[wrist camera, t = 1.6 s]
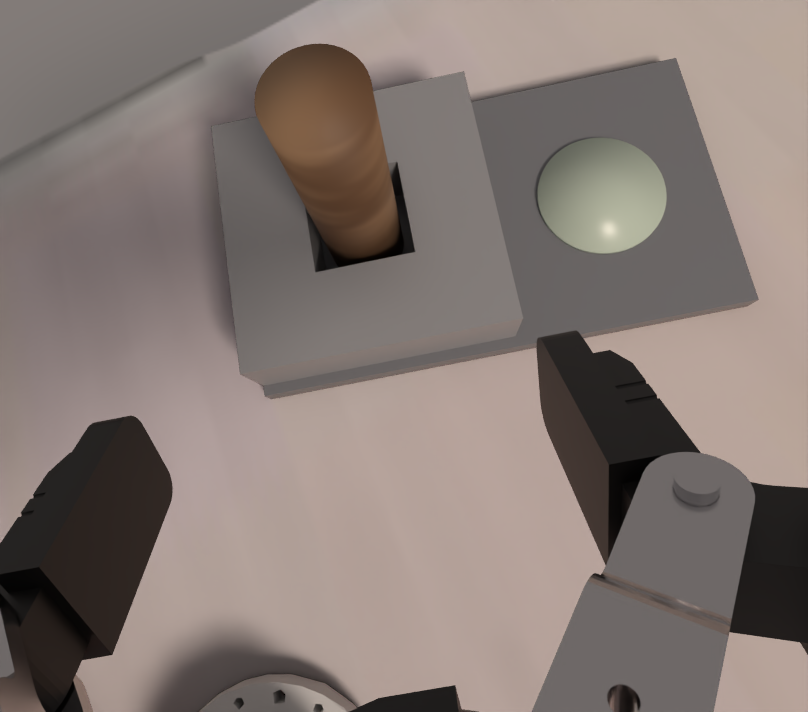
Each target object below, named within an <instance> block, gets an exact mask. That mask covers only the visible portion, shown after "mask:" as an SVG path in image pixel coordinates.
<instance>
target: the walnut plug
mask: <svg viewBox="0 0 808 712" xmlns="http://www.w3.org/2000/svg"><path fill="white" fill-rule="evenodd" d="M255 111H256V115H257V118H258V120H259V122H260V124H261V126H262V128H263V130H264V131H265V133H266V135H267V137H268V139H269V141H270V143H271V144H272V146H273V148H274V150H275V152H276V154H277V155H278V157H279V159H280V161H281V163H282V165H283V167H284V168H285V170H286V172H287V174H288V176H289V178H290V179H291V181H292V183H293V185H294V187H295V189H296V191H297V192H298V194H299V196H300V198H301V200H302V202H303V204H304V205H305V207H306V209H307V211H308V213H309V215H310V216H311V218H312V220H313V222H314V224H315V226H316V228H317V229H318V231H319V233H320V235H321V237H322V239H323V240H324V242H325V244H326V246H327V248H328V250H329V252H330V253H331V255H332V257H333V259H334V261H335V263H336V264H337V265H338V267H344V266H349V265H354V264H359V263H364V262H369V261H373V260H378V259H383V258H388V257H393V256H398V255H401V254H402V251H403V245H404V240H403V234H402V229H401V224H400V219H399V214H398V210H397V205H396V200H395V195H394V190H393V185H392V180H391V176H390V171H389V166H388V161H387V156H386V151H385V146H384V142H383V137H382V132H381V127H380V122H379V117H378V112H377V107H376V103H375V98H374V93H373V88H372V83H371V79H370V76H369V74H368V71H367V69H366V68H365V66H364V65H363V63H362V62H361V61H360V60H359V59H358V58H357V57H356V56H355V55H353V54H352V53H350V52H349V51H347V50H345V49H343V48H340V47H337V46H334V45H328V44H310V45H304V46H301V47H297V48H295V49H292V50H290V51H288V52H286V53H284V54H283V55H281V56H280V57H278V58H277V59H276V60H275V61H273V62H272V63H271V64H270V65H269V67H268V68H267V69H266V70H265V72H264V73H263V75H262V76H261V78H260V80H259V82H258V85H257V88H256V92H255Z"/></svg>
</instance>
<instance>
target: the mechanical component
mask: <svg viewBox="0 0 808 712" xmlns="http://www.w3.org/2000/svg"><path fill="white" fill-rule="evenodd" d="M280 689H281V690H282V691H283V692H284V693H285V695H283V693H282V692H281V690H280ZM354 709H356V706H355V705H354V704H353V703H352V702H350V701H349V700H347V699H346V698H345V697H343V696H342V695H341V694H339V693H338V692H337V691H335V690H334V689H332V688H331V687H330V686H328V685H327V684H326V683H322V682H319V681H315V680H311V679H308V678H304V677H300V676H297V675H293V674H267V675H263V676H259V677H255V678H251V679H247V680H244V681H242V682H240V683H238V684H236V685H234V686H233V687H231V688H229V689H227V690H225V691H223V692H221V693H219V694H218V695H217V696H216V697H215V698H214V699H213V700H211V701H210V702H209V703H208V704H207V705H206V706H205V707H203V708H202V709H201V710H200V711H199V712H350V711H352V710H354Z"/></svg>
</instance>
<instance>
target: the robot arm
mask: <svg viewBox="0 0 808 712" xmlns="http://www.w3.org/2000/svg"><path fill="white" fill-rule="evenodd" d="M537 361H538V375H539V388H540V401H541V409H542V414H543V418H544V422H545V426H546V429H547V432H548V434H549V436H550V439H551V441H552V443H553V446H554V448H555V450H556V452H557V455H558V457H559V459H560V462H561V464H562V466H563V468H564V471H565V473H566V475H567V478H568V480H569V482H570V485H571V487H572V489H573V491H574V494H575V496H576V498H577V501H578V503H579V505H580V507H581V510H582V512H583V514H584V517H585V519H586V521H587V523H588V526H589V528H590V530H591V533H592V535H593V537H594V539H595V542H596V544H597V546H598V549H599V551H600V553H601V555H602V558H603V560H604V562H605V565H606V567H605V569H604V571H603V572H602V574H601V575H599V574H596V573H594V574H592V576H591V577H590V578H589V580H588V581H587V583H586V585H585V587H584V589H583V591H582V593H581V596H580V598H579V601H578V603H577V605H576V608H575V610H574V612H573V615H572V617H571V620H570V622H569V624H568V627H567V629H566V632H565V634H564V636H563V639H562V641H561V643H560V646H559V648H558V651H557V653H556V655H555V658H554V660H553V663H552V665H551V667H550V670H549V672H548V674H547V677H546V679H545V682H544V684H543V686H542V689H541V691H540V693H539V696H538V698H537V701H536V703H535V705H534V708H533V710H532V712H713V711H714V706H715V701H716V696H717V691H718V686H719V681H720V676H721V671H722V666H723V661H724V656H725V651H726V646H727V641H728V636H729V632H733V633H740V634H747V635H754V636H760V637H767V638H774V639H781V640H788V641H795V642H800V643H801V644H802V646H803V648H804V649H805V651H806V653H807V654H808V488H800V487H785V486H771V485H762V484H757V483H752V482H750V481H749V480H748V479H747V477H746V476H745V475H744V474H743V473H742V472H741V471H740V470H738V469H737V468H736V467H734V466H733V465H731V464H729V463H728V462H726V461H724V460H721V459H719V458H717V457H714V456H710V455H707V454H702V453H700V451H699V450H698V449H697V447H696V446H695V445H694V443H693V442H692V441H691V440H690V438H689V437H688V436H687V434H686V433H685V432H684V430H683V429H682V428H681V426H680V425H679V424H678V422H677V421H676V420H675V418H674V417H673V416H672V414H671V413H670V412H669V411H668V409H667V408H666V407H665V405H664V404H663V403H662V401H661V400H660V399H657V395H656V393H655V392H654V391H653V389H652V388H651V387H650V385H649V384H646V380H645V379H644V378H643V376H642V375H641V374H640V372H639V371H638V370H637V368H636V367H635V366H634V364H633V363H632V362H630V361H628V360H626V359H625V358H623V357H621V356H619V355H618V354H616V353H614V352H612V351H611V350H608V351H603V352H598V353H593V352H592V351H591V349H590V348H589V346H588V345H587V343H586V342H585V340H584V339H583V337H582V336H581V334H580V333H579V332H578V331H577V330H574V331H569V332H564V333H559V334H554V335H549V336H544V337H539V338H538V339H537ZM33 496H34V498H33V499H30V500H29V502H28V503H27V505H26V506H25V508H24V509H23V511H22V512H21V514H22V516H21V517H18V518H17V520H16V521H15V523H14V524H13V526H12V527H11V528H10V530H9V531H8V533H7V534H6V536H5V537H4V539H3V540H2V542H1V543H0V712H93V709H92V706H91V704H90V701H89V698H88V695H87V692H86V689H85V686H84V684H83V682H82V681H81V680H80V679H79V678H78V677H77V675H76V672H77V670H78V668H79V665H80V663H81V661H82V660H86V659H91V658H97V657H103V656H108V655H112V654H113V652H114V649H115V646H116V644H117V641H118V639H119V636H120V633H121V631H122V628H123V626H124V623H125V620H126V618H127V615H128V612H129V610H130V607H131V605H132V602H133V599H134V597H135V594H136V592H137V589H138V586H139V584H140V581H141V579H142V576H143V573H144V571H145V568H146V565H147V563H148V560H149V558H150V555H151V552H152V550H153V547H154V545H155V542H156V539H157V537H158V534H159V532H160V529H161V526H162V524H163V521H164V519H165V516H166V513H167V511H168V508H169V505H170V503H171V499H172V481H171V477H170V474H169V471H168V469H167V467H166V466H165V464H164V462H163V460H162V459H161V457H160V455H159V453H158V451H157V450H156V448H155V446H154V444H153V443H152V441H151V439H150V437H149V435H148V434H147V432H146V430H145V428H144V427H143V425H142V423H141V422H140V421H139V419H137V418H136V417H134V416H126V417H121V418H116V419H111V420H106V421H101V422H96V423H93V424H91V425H90V426H89V427H88V428H87V430H86V431H85V433H84V434H83V436H82V437H81V439H80V440H79V442H78V444H77V445H76V447H75V448H74V450H73V451H72V453H69V454H68V455H67V456H66V457H65V458H64V459H63V460H62V461H60V462H59V463H58V464H57V465H56V466H55V467H54V468H53V469H52V470H51V471H49V472H48V473H47V475H46V476H45V478H44V479H43V481H42V482H41V484H40V485H39V487H38V488H37V490H36V491H35V493H34V494H33ZM350 712H477V711H470V710H462V709H461V706H460V702H459V698H458V694H457V691H456V687H455V685H454V686H448V687H442V688H436V689H430V690H424V691H418V692H412V693H407V694H401V695H395V696H389V697H383V698H378V699H376V700H374V701H372V702H369V703H367V704H365V705H363V706H361V707H358V708H356V709H354V710H352V711H350Z"/></svg>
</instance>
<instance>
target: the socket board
mask: <svg viewBox="0 0 808 712" xmlns="http://www.w3.org/2000/svg"><path fill="white" fill-rule="evenodd" d="M373 93H374V98H375V103H376V107H377V112H378V117H379V122H380V127H381V132H382V137H383V142H384V146H385V151H386V156H387V161H388V166H389V171H390V176H391V180H392V185H393V190H394V195H395V200H396V205H397V210H398V214H399V219H400V224H401V229H402V234H403V240H404V245H403V251H402V254H401V255H398V256H393V257H388V258H383V259H378V260H373V261H369V262H364V263H359V264H354V265H349V266H344V267H338V265H337V264H336V263H335V261H334V259H333V257H332V255H331V253H330V252H329V250H328V248H327V246H326V244H325V242H324V240H323V239H322V237H321V235H320V233H319V231H318V229H317V228H316V226H315V224H314V222H313V220H312V218H311V216H310V215H309V213H308V211H307V209H306V207H305V205H304V204H303V202H302V200H301V198H300V196H299V194H298V192H297V191H296V189H295V187H294V185H293V183H292V181H291V179H290V178H289V176H288V174H287V172H286V170H285V168H284V167H283V165H282V163H281V161H280V159H279V157H278V155H277V154H276V152H275V150H274V148H273V146H272V144H271V143H270V141H269V139H268V137H267V135H266V133H265V131H264V130H263V128H262V126H261V124H260V122H259V120H258V118H257V116H256V117H252V118H247V119H243V120H238V121H233V122H229V123H224V124H220V125H215V126H211V131H212V140H213V148H214V157H215V165H216V174H217V182H218V191H219V199H220V208H221V216H222V225H223V233H224V242H225V250H226V259H227V268H228V276H229V285H230V293H231V302H232V310H233V319H234V327H235V336H236V344H237V353H238V361H239V370H240V374H241V375H243V376H245V377H247V378H249V379H251V380H253V381H255V382H257V383H259V384H261V385H263V387H264V395H265V397H268V398H270V399H275V398H280V397H285V396H290V395H295V394H300V393H305V392H311V391H316V390H321V389H326V388H331V387H336V386H341V385H346V384H351V383H357V382H362V381H367V380H372V379H377V378H382V377H387V376H392V375H398V374H403V373H408V372H413V371H418V370H423V369H428V368H433V367H438V366H444V365H449V364H454V363H459V362H464V361H469V360H474V359H479V358H485V357H490V356H495V355H500V354H505V353H510V352H515V351H520V350H525V349H531V348H536V347H537V339H538V338H539V337H544V336H549V335H554V334H559V333H564V332H569V331H574V330H577V331H578V332H579V333H580V334H581V336H582V337H583V338H587V337H592V336H597V335H602V334H607V333H612V332H618V331H623V330H628V329H633V328H638V327H643V326H648V325H653V324H658V323H664V322H669V321H674V320H679V319H684V318H689V317H694V316H699V315H705V314H710V313H715V312H720V311H725V310H730V309H735V308H740V307H745V306H748V305H750V304H752V303H754V302H755V301H757V300H759V299H758V296H757V293H756V290H755V287H754V284H753V281H752V279H751V276H750V273H749V270H748V267H747V264H746V261H745V258H744V255H743V252H742V249H741V246H740V244H739V241H738V238H737V235H736V232H735V229H734V226H733V223H732V220H731V217H730V214H729V211H728V208H727V206H726V203H725V200H724V197H723V194H722V191H721V188H720V185H719V182H718V179H717V176H716V173H715V171H714V168H713V165H712V162H711V159H710V156H709V153H708V150H707V147H706V144H705V141H704V138H703V136H702V133H701V130H700V127H699V124H698V121H697V118H696V115H695V112H694V109H693V106H692V103H691V100H690V98H689V95H688V92H687V89H686V86H685V83H684V80H683V77H682V74H681V71H680V68H679V65H678V63H677V60H676V58H674V59H669V60H664V61H660V62H655V63H651V64H646V65H641V66H637V67H632V68H627V69H623V70H618V71H613V72H609V73H604V74H599V75H595V76H590V77H585V78H581V79H576V80H572V81H567V82H562V83H558V84H553V85H548V86H544V87H539V88H534V89H530V90H525V91H520V92H516V93H511V94H506V95H502V96H497V97H493V98H488V99H483V100H479V101H474V102H471V99H470V95H469V90H468V86H467V82H466V78H465V74H464V71H463V72H458V73H454V74H449V75H445V76H440V77H435V78H431V79H426V80H422V81H417V82H413V83H408V84H403V85H399V86H394V87H390V88H385V89H380V90H376V91H373Z"/></svg>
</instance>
